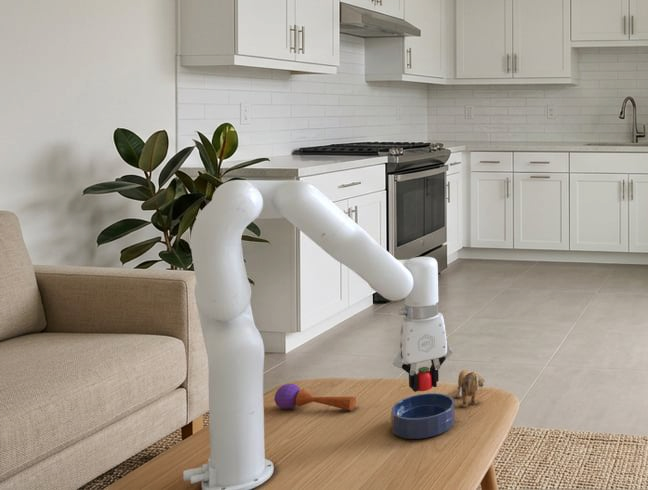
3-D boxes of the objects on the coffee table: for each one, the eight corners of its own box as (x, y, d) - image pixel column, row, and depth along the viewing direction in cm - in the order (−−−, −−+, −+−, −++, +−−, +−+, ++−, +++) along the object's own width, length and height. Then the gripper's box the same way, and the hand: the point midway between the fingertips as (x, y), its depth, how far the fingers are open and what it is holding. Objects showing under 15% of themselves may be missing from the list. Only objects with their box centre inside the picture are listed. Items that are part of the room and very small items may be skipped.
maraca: (346, 400, 162) (268, 391, 164) (347, 421, 164) (270, 412, 165) (358, 386, 168) (283, 377, 170) (358, 406, 170) (284, 398, 171)
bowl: (400, 447, 147) (400, 425, 147) (385, 422, 159) (385, 402, 159) (463, 430, 155) (462, 409, 155) (443, 408, 167) (443, 388, 167)
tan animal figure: (487, 407, 167) (487, 372, 167) (467, 413, 164) (466, 377, 164) (467, 388, 179) (466, 355, 179) (447, 392, 176) (447, 359, 176)
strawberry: (418, 392, 154) (417, 373, 154) (413, 387, 157) (413, 367, 157) (434, 388, 156) (434, 369, 156) (429, 383, 159) (429, 364, 159)
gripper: (389, 321, 149) (391, 402, 149) (462, 308, 158) (463, 384, 158) (381, 312, 155) (383, 390, 155) (451, 301, 164) (453, 374, 164)
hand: (423, 386), depth 157 cm, fingers closed on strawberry, 3 cm apart
